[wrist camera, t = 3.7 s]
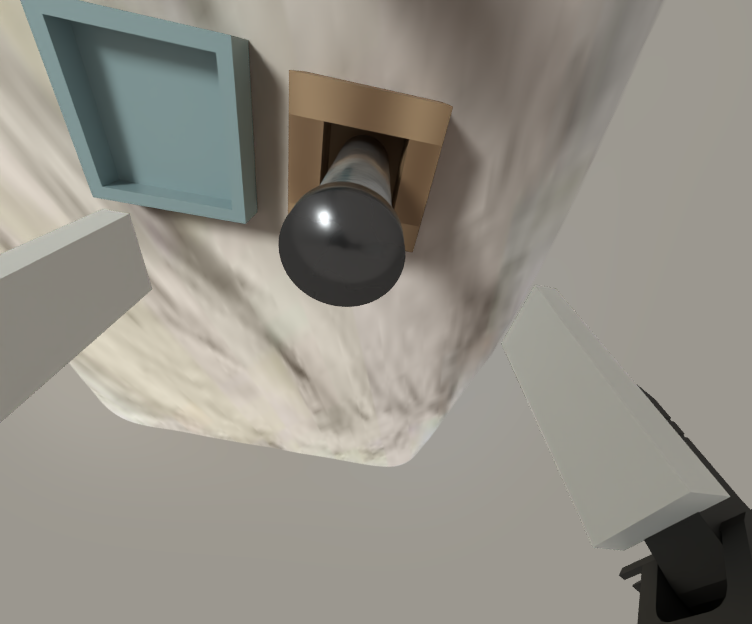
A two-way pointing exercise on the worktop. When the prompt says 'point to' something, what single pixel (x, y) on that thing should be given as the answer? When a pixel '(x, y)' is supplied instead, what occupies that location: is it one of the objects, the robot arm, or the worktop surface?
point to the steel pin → (346, 230)
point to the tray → (152, 107)
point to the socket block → (365, 117)
